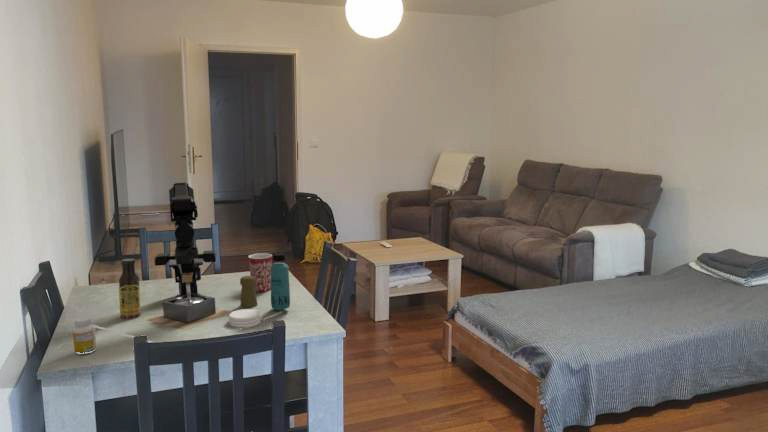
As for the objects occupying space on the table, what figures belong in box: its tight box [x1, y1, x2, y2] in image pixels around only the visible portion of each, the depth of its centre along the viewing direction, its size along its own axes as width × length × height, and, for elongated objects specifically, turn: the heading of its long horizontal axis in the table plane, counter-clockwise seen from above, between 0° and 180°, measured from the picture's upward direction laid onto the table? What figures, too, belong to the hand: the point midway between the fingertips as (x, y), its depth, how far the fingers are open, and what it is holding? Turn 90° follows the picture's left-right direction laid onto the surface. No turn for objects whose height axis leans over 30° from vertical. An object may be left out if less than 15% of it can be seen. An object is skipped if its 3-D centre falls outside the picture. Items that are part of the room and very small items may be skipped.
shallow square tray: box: [162, 293, 217, 324], centre depth 191 cm, size 14×12×6 cm
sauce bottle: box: [118, 258, 141, 320], centre depth 190 cm, size 6×6×20 cm
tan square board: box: [144, 307, 233, 331], centre depth 191 cm, size 20×20×1 cm
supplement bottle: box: [72, 316, 97, 353], centre depth 162 cm, size 5×5×10 cm
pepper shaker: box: [239, 275, 258, 309], centre depth 201 cm, size 6×6×11 cm
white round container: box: [228, 308, 262, 329], centre depth 185 cm, size 10×10×4 cm
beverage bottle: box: [269, 252, 291, 310], centre depth 195 cm, size 6×7×20 cm
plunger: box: [174, 272, 204, 306], centre depth 190 cm, size 9×9×10 cm
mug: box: [247, 252, 273, 293], centre depth 223 cm, size 13×9×14 cm
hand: (187, 283), depth 189 cm, fingers closed on plunger, 3 cm apart
